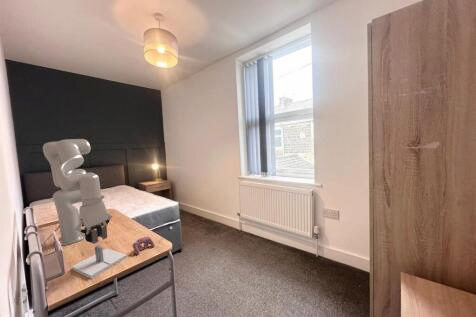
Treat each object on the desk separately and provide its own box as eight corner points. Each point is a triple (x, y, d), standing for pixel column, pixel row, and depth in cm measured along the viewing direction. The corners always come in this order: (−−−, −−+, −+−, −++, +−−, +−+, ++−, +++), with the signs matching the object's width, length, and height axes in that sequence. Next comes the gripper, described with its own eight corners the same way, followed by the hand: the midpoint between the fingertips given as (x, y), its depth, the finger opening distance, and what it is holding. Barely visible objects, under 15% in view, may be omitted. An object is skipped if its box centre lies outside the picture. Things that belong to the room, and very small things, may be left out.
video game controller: (152, 247, 110) (148, 235, 112) (155, 246, 107) (151, 233, 109) (134, 256, 103) (130, 242, 104) (137, 255, 100) (133, 241, 101)
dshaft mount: (72, 269, 92) (69, 252, 91) (107, 251, 106) (105, 235, 105) (91, 278, 84) (88, 260, 83) (126, 257, 99) (124, 241, 98)
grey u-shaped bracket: (86, 241, 92) (84, 228, 92) (100, 235, 98) (98, 223, 97) (93, 243, 90) (92, 230, 89) (107, 237, 95) (105, 225, 94)
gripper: (106, 195, 101) (110, 228, 103) (65, 206, 86) (71, 245, 88) (115, 196, 98) (119, 231, 100) (74, 208, 82) (80, 249, 84)
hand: (96, 237), depth 94 cm, fingers closed on grey u-shaped bracket, 6 cm apart
